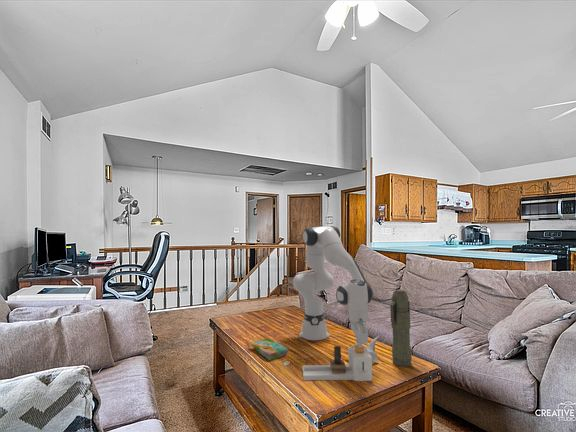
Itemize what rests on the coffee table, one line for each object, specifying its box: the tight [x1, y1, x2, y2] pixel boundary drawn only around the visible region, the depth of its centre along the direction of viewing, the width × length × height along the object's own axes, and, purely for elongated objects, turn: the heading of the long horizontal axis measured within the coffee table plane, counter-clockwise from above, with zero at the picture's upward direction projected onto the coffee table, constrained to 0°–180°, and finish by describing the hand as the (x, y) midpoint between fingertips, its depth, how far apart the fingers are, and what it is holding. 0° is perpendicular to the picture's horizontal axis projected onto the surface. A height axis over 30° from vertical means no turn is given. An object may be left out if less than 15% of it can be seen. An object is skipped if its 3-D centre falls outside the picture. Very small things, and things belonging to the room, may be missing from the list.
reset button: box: [355, 345, 365, 353], centre depth 140 cm, size 4×4×2 cm
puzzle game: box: [250, 338, 289, 361], centre depth 165 cm, size 12×5×20 cm
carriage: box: [329, 345, 346, 373], centre depth 139 cm, size 7×6×10 cm
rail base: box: [302, 346, 373, 382], centre depth 139 cm, size 13×30×10 cm, turn 89°
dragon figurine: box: [346, 335, 380, 365], centre depth 156 cm, size 15×15×9 cm
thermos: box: [390, 289, 412, 368], centre depth 151 cm, size 9×12×35 cm
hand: (359, 346), depth 139 cm, fingers closed, pressing on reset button
